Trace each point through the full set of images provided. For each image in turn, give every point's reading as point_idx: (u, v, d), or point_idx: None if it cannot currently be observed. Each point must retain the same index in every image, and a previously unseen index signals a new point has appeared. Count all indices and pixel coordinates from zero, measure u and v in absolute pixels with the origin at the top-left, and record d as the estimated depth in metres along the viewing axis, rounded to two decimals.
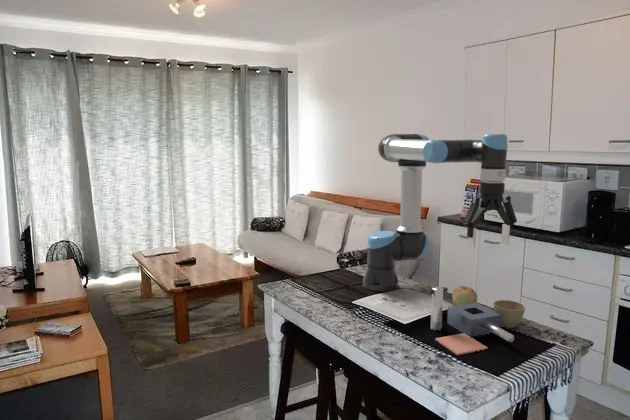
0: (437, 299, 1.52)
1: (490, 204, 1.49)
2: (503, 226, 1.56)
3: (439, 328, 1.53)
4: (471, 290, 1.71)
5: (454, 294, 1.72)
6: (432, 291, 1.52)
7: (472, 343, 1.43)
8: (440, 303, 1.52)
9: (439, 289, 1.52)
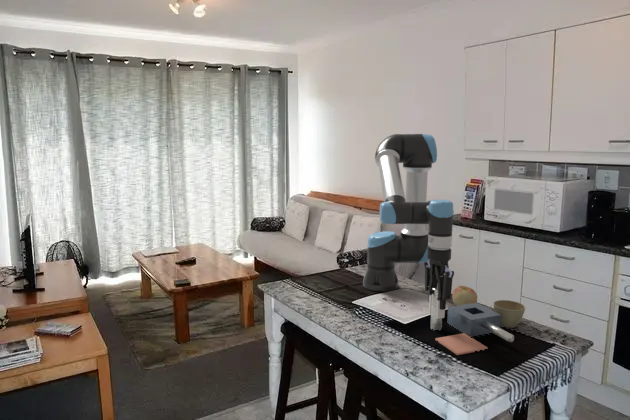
0: None
1: (431, 268, 1.53)
2: None
3: (439, 328, 1.53)
4: (471, 290, 1.71)
5: (454, 294, 1.72)
6: (432, 291, 1.52)
7: (472, 343, 1.43)
8: None
9: None
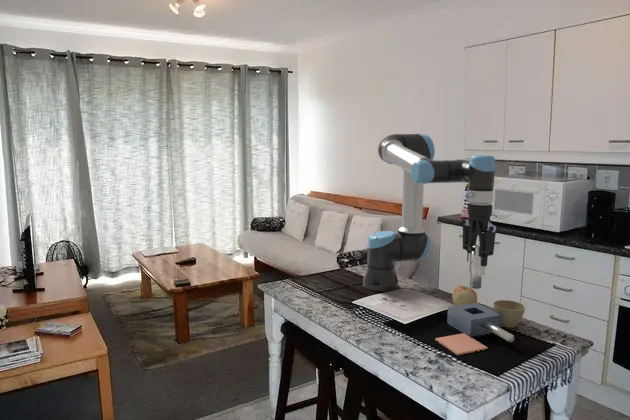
0: None
1: (471, 225, 1.50)
2: None
3: (479, 286, 1.52)
4: (471, 290, 1.71)
5: (454, 294, 1.72)
6: (473, 248, 1.50)
7: (472, 343, 1.43)
8: None
9: None
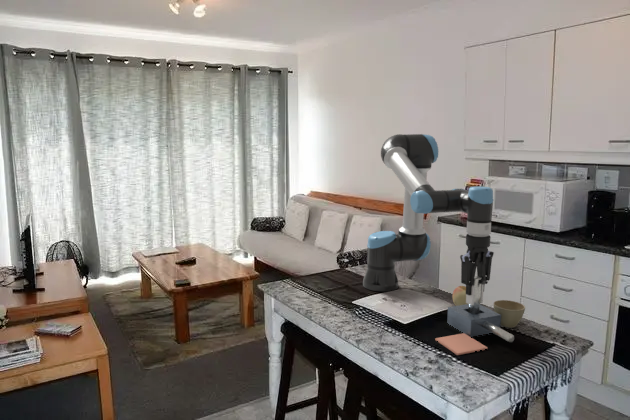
0: None
1: (478, 257, 1.49)
2: None
3: None
4: None
5: (454, 294, 1.72)
6: None
7: (472, 343, 1.43)
8: None
9: (477, 277, 1.53)
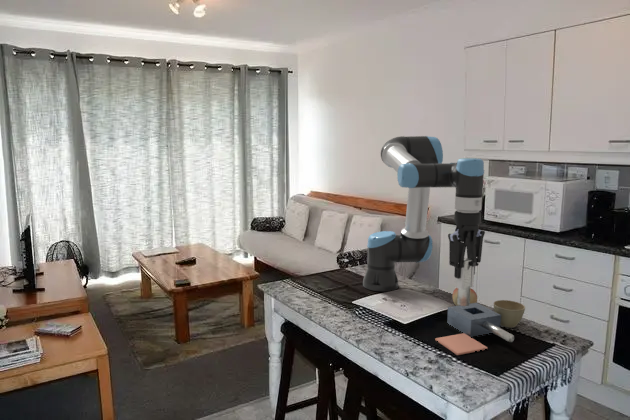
0: None
1: (468, 236, 1.35)
2: None
3: None
4: (471, 290, 1.71)
5: (454, 294, 1.72)
6: None
7: (472, 343, 1.43)
8: None
9: (467, 259, 1.39)
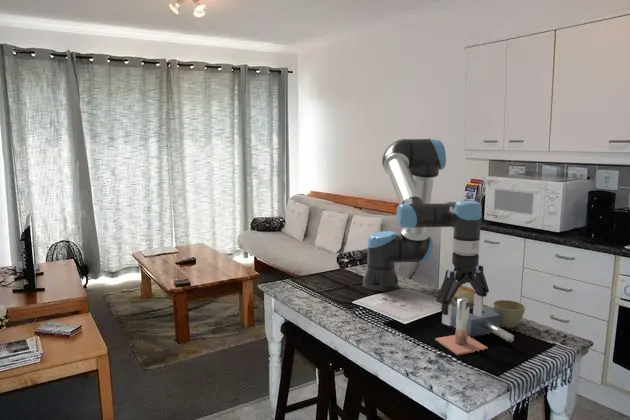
0: None
1: (465, 277, 1.37)
2: (475, 297, 1.45)
3: None
4: (471, 290, 1.71)
5: None
6: None
7: (472, 343, 1.43)
8: None
9: (465, 299, 1.41)
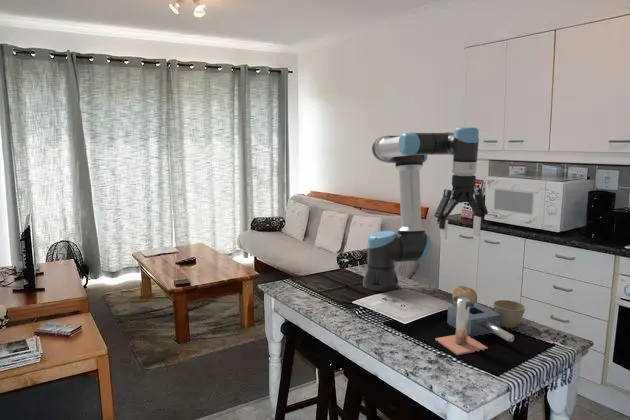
0: None
1: (461, 196, 1.52)
2: (474, 218, 1.59)
3: None
4: (471, 290, 1.71)
5: (454, 294, 1.72)
6: None
7: (472, 343, 1.43)
8: None
9: (465, 299, 1.41)
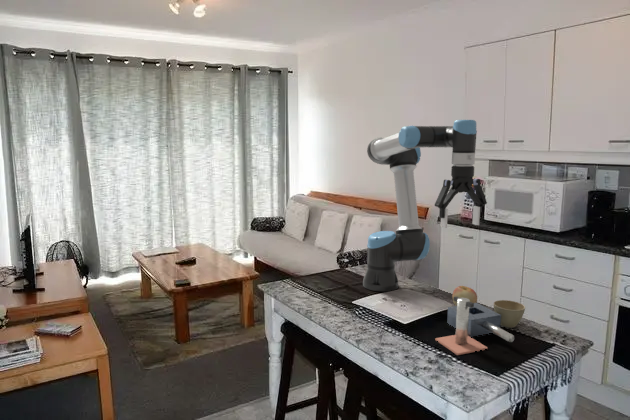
0: None
1: (461, 186, 1.58)
2: (474, 208, 1.64)
3: None
4: (471, 290, 1.71)
5: (454, 294, 1.72)
6: None
7: (472, 343, 1.43)
8: None
9: (465, 299, 1.41)
